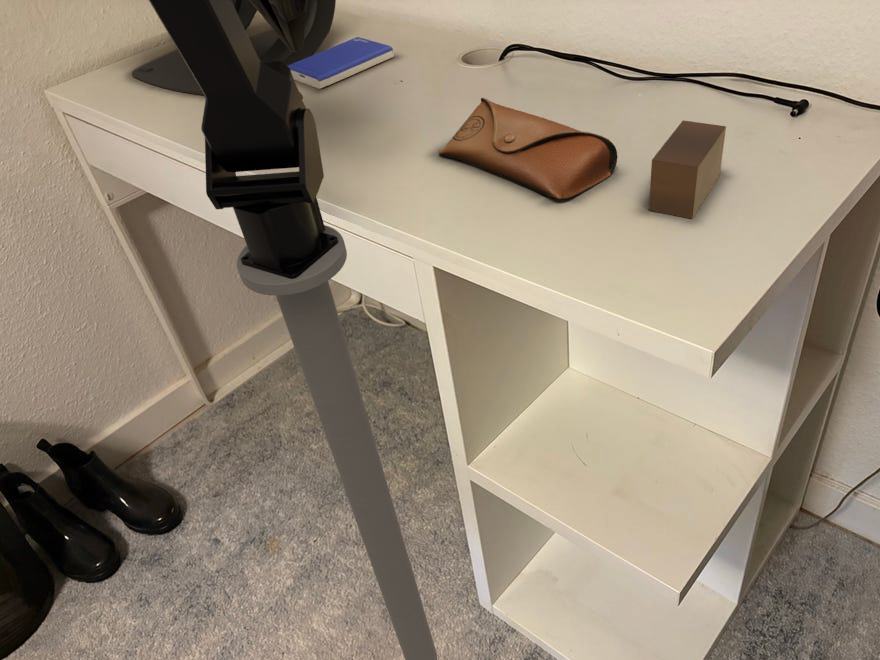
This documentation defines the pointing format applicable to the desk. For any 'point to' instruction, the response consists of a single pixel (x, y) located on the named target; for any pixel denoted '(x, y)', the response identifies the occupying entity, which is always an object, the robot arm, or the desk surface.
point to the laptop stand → (267, 46)
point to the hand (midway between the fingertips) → (297, 50)
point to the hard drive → (340, 62)
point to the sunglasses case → (532, 150)
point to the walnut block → (686, 168)
